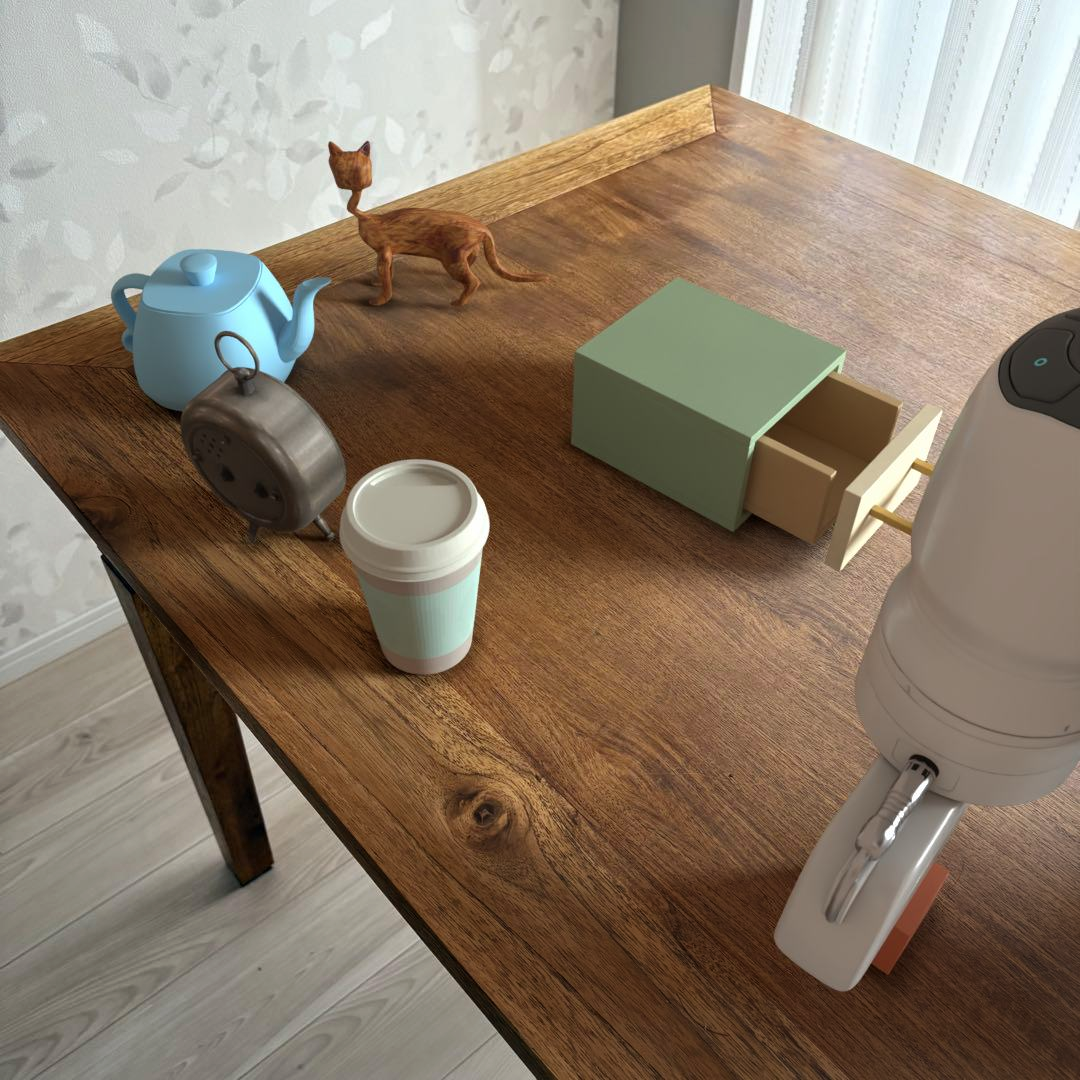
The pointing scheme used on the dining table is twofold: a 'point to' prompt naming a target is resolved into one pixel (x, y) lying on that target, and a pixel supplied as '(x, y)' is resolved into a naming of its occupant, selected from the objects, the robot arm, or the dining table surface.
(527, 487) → the dining table surface
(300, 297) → the teapot
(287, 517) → the alarm clock
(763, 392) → the cabinet
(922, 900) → the block
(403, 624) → the coffee cup
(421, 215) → the cat figurine
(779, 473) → the drawer
